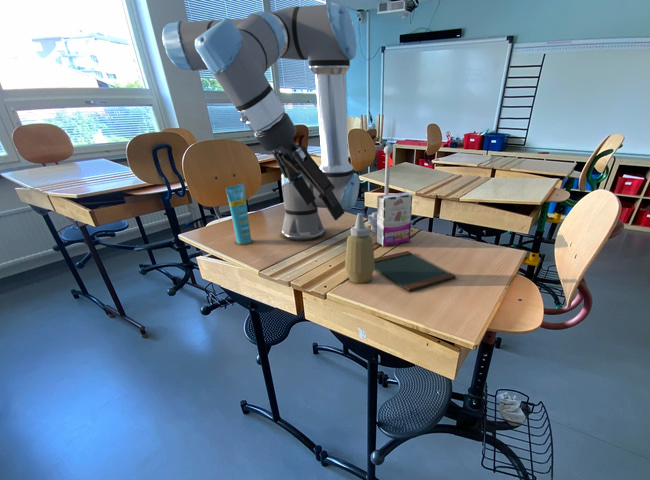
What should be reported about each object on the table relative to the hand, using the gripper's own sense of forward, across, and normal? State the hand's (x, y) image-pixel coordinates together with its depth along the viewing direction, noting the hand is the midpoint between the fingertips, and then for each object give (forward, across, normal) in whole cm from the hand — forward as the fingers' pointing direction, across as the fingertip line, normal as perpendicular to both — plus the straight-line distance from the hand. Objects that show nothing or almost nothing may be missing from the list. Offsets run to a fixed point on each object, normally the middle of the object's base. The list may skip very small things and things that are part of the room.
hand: (324, 208), depth 79 cm
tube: (+15, -45, -18) cm, 51 cm away
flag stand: (+41, -30, +25) cm, 56 cm away
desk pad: (+30, +5, +10) cm, 32 cm away
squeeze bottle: (+22, +2, -3) cm, 22 cm away
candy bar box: (+37, -16, +19) cm, 44 cm away
